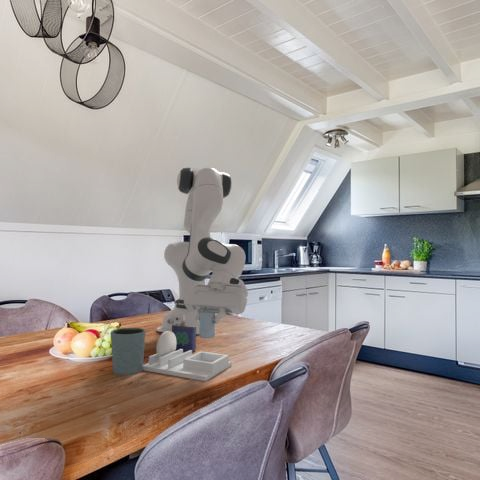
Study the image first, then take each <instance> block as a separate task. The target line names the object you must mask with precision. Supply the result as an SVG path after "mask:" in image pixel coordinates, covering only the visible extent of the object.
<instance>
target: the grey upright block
mask: <svg viewBox="0 0 480 480" xmlns="http://www.w3.org/2000/svg"><path fill="white" fill-rule="evenodd" d="M214 316H216V312H211V311H204V312H200V328H199V334H198V335H199V337H198V338H201V339H214V338H215V335H216V325H215V324H216V323H213V321H212V319H213V317H214Z"/></svg>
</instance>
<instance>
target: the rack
mask: <svg viewBox="0 0 480 480" xmlns="http://www.w3.org/2000/svg"><path fill="white" fill-rule="evenodd" d="M176 343H177V342H176V336H175V334H174V333H173V332H171V331H165V332H161V334H160V336H159V337H158V339H157V342H156V346H155V347H156V348H155V350H156V353H155V354H151V355H149V356H148V363H146V364H143V370H142V371H147V372H151V373H157V374H164V375H168V376H174V377H179V378H185V379H191V380H196V381H202V382H207V381H209V380H211V379H212V378H214V377H215V376H217V375H219V374H220V373H222V372H224V371H225V370H227V369H229V368H230V367H232V364H233V363H232V361H231V360H230V361H229V359H230V357H229V356H230V355H229V354H222V353H216V352H209V351H208V352H207V351H202V350H201V351H198V352H195V353H194V354H193V352H192V350H189V351H187V352H183V349H179V350H177V351H175V350H176Z"/></svg>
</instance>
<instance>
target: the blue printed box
mask: <svg viewBox="0 0 480 480" xmlns="http://www.w3.org/2000/svg"><path fill="white" fill-rule="evenodd" d="M181 322H182V323H181V324H180V325H179V324H178V323H177V324H174V325H172V332H173V333H174V334H175V336H176V342H177V343H176V350H175V351H177V350H179V349H183V353H185V352H187V351H189V350H192V353H196V351H197V348H196V347H197V345H196V344H197V334H196V326H189V325H186V323H185V322H186V321H181Z"/></svg>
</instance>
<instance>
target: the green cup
mask: <svg viewBox="0 0 480 480" xmlns="http://www.w3.org/2000/svg"><path fill="white" fill-rule="evenodd" d="M145 341H146V329H145V328H142V327H122V328H116V329H113V330H111V331H110V343H111V345H110V347H111V355H112V356H111V361H112V372H113V373H114V374H116V375H118V376H119V375H122V376H128V375H136V374H138V373H141V372H143V371H144V370H143V365H144V358H145V357H144V356H145V353H144V352H145V345H146V344H145Z"/></svg>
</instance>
